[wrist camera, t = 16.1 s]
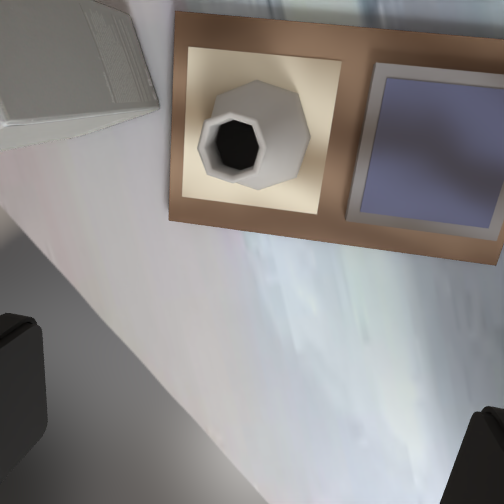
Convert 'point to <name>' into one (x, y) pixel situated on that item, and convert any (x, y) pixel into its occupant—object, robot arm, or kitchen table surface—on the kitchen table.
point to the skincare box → (68, 71)
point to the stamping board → (352, 134)
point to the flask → (255, 136)
